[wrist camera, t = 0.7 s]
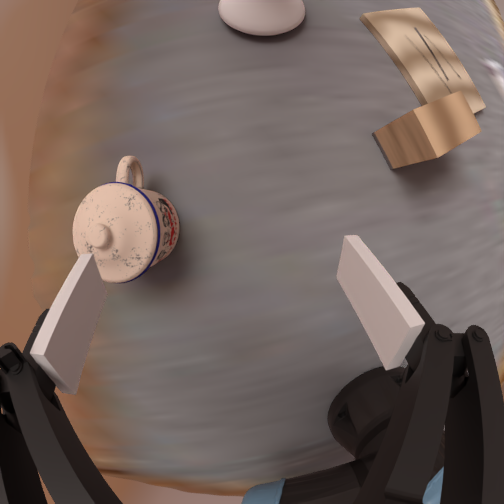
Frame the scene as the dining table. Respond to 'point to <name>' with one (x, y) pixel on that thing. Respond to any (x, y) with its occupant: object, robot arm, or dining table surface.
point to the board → (422, 55)
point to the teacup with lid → (125, 225)
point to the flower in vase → (262, 15)
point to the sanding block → (427, 131)
